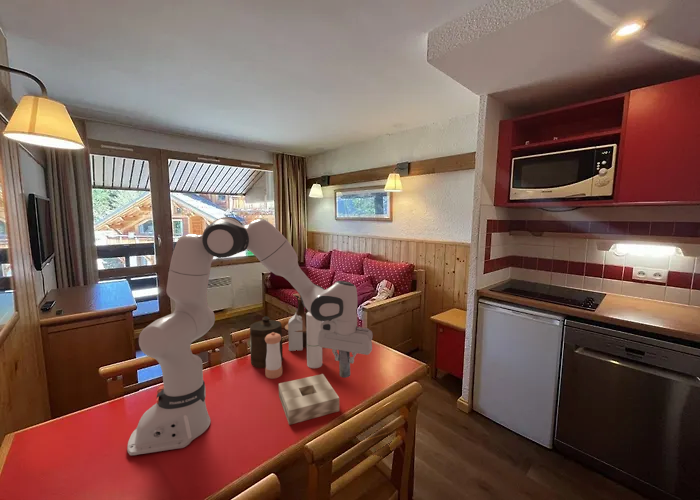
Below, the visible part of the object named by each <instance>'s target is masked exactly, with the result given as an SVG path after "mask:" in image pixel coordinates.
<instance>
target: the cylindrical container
mask: <svg viewBox="0 0 700 500" xmlns="http://www.w3.org/2000/svg"><path fill="white" fill-rule="evenodd" d="M306 321H307V347H306V366H307V367H308V368H310V369H318V368H321V367H322V366H323V347H320V346H319V345H318V335H319V331H320V330H321V328H320V325H321V324H322V323H323V321H319V320H316V319H315V318H314V317H313V316H312V315H311V314H310V312H309V311H308V312H307V313H306Z"/></svg>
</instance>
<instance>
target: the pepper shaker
mask: <svg viewBox="0 0 700 500" xmlns="http://www.w3.org/2000/svg"><path fill="white" fill-rule="evenodd" d="M280 341H281V336H280V334H278V333H274V332H272V333H271V334H268V335H267V336H266V337H265V342H266V343H267V355H266V368H264V371H265V372H264V373H265V377H266V378H267V379H270V380H271V379H272V380H273V379H277V378H280V377H281V376H282V375H283V365H282V362H281V354H280Z"/></svg>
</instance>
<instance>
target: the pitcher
mask: <svg viewBox="0 0 700 500" xmlns="http://www.w3.org/2000/svg"><path fill="white" fill-rule="evenodd" d="M292 296H294V298H296V300H297V312H296V314H297V315H298V316H301V317H302V319H301V320H302V321H303V324H302V330H299V331H294V332H303V349H304V348H307V321H306V313H307V312H309V311H308V310H307V309H306V308H305V307H304V306H303V303H302V300H301V296H300V294H299V293H293V294H292ZM284 329H285V330H286V331H288V323H286V325H285V326H284Z"/></svg>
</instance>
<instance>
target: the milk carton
mask: <svg viewBox="0 0 700 500" xmlns="http://www.w3.org/2000/svg"><path fill="white" fill-rule="evenodd" d="M301 319H302V317H301V316H298V315H297V312H295V314H294V315H292V316H291V318H289V319H288V323H287V324H288V330H287V331H288V351H289V352H291V351H292V352H294V351H296V350H297V351H303V349H304V348H303V332H294V331H299V330H302V324H303V321H302V320H301Z"/></svg>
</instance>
